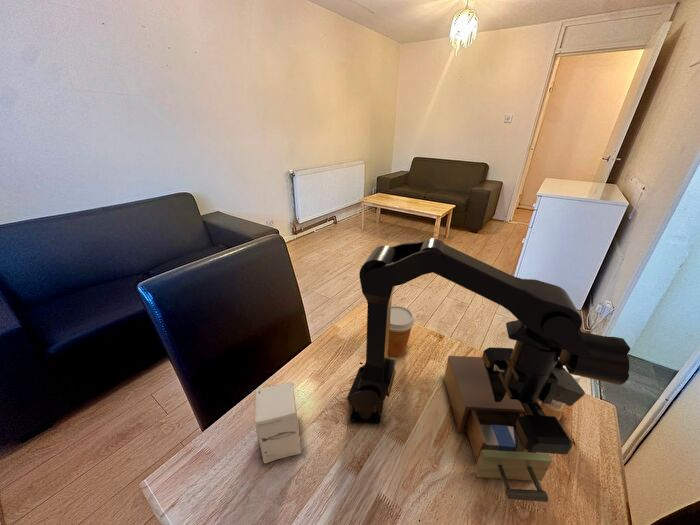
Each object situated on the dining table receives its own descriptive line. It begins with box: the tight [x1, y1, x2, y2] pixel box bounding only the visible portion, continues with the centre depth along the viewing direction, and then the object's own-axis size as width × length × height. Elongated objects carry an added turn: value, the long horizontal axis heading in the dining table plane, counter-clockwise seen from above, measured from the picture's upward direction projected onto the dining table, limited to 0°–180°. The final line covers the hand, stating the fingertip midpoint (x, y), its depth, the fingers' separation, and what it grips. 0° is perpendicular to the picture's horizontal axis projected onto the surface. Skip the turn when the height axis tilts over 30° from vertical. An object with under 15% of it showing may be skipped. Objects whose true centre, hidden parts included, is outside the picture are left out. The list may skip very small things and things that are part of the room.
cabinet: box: [443, 355, 527, 433], centre depth 64 cm, size 14×13×8 cm
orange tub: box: [388, 305, 416, 357], centre depth 79 cm, size 10×10×12 cm
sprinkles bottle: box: [538, 366, 582, 421], centre depth 61 cm, size 5×5×14 cm
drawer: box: [465, 409, 553, 503], centre depth 53 cm, size 17×11×6 cm, turn 177°
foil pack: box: [480, 424, 528, 452], centre depth 54 cm, size 8×4×4 cm, turn 86°
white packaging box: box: [254, 381, 302, 464], centre depth 55 cm, size 7×7×13 cm
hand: (507, 423), depth 52 cm, fingers open, 9 cm apart
